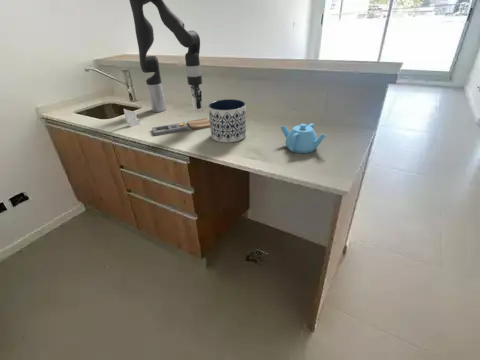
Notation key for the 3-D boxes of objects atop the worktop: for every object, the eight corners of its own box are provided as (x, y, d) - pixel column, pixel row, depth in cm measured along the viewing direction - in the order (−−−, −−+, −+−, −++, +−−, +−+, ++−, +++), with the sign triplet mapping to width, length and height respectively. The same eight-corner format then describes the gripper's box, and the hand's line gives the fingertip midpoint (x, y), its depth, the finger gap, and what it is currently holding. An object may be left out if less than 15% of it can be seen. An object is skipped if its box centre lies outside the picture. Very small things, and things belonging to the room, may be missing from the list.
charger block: (193, 110, 151) (191, 94, 147) (201, 109, 153) (199, 93, 148) (195, 112, 148) (193, 96, 143) (203, 111, 149) (201, 94, 144)
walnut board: (187, 123, 157) (187, 121, 157) (207, 120, 161) (206, 118, 160) (192, 130, 148) (192, 128, 147) (213, 126, 152) (213, 124, 151)
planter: (207, 133, 144) (204, 102, 135) (239, 127, 149) (237, 97, 140) (217, 145, 129) (214, 112, 121) (251, 139, 134) (251, 106, 126)
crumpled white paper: (119, 123, 154) (123, 108, 152) (135, 127, 162) (138, 113, 161) (123, 124, 152) (126, 109, 151) (138, 128, 160) (142, 114, 159)
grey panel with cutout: (152, 130, 150) (151, 126, 149) (184, 124, 156) (184, 120, 154) (154, 135, 143) (153, 131, 142) (188, 129, 149) (187, 125, 147)
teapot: (309, 138, 133) (311, 116, 127) (324, 153, 119) (328, 129, 113) (279, 141, 131) (280, 119, 125) (291, 157, 117) (293, 133, 111)
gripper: (183, 73, 145) (188, 105, 154) (190, 77, 133) (194, 111, 142) (197, 71, 147) (201, 103, 156) (204, 76, 136) (208, 109, 145)
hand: (197, 107), depth 149 cm, fingers closed on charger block, 4 cm apart
